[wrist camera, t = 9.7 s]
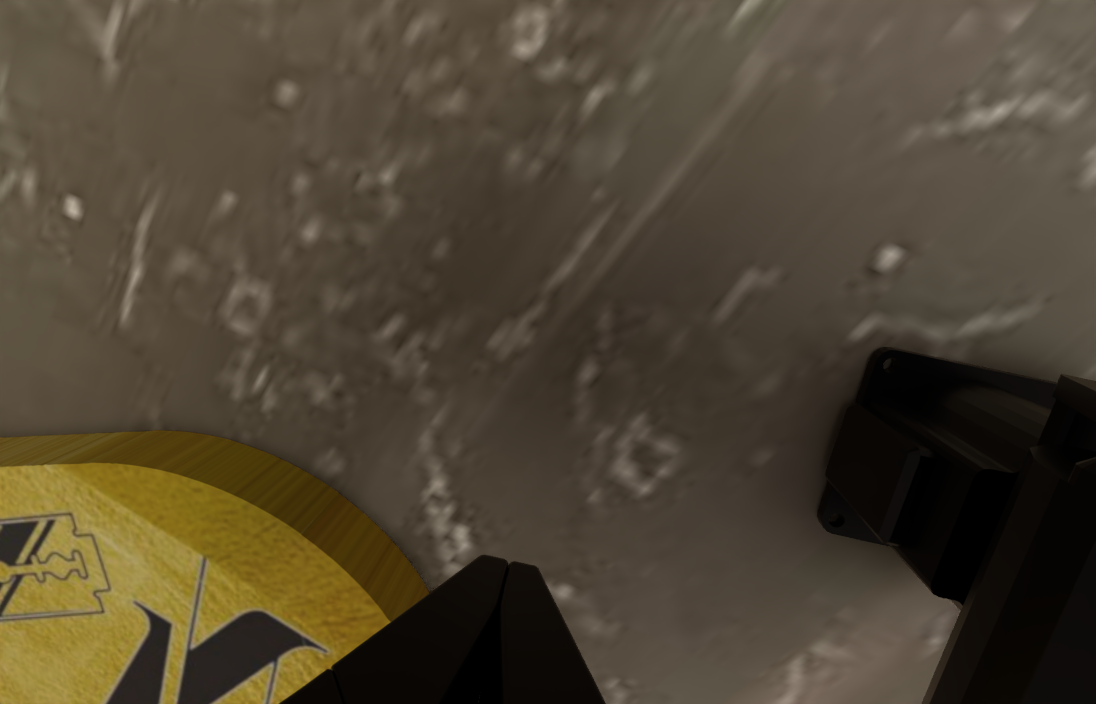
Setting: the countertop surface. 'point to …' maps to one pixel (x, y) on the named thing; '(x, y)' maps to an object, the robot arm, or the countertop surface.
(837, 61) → the countertop surface
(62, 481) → the sign
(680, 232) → the countertop surface
